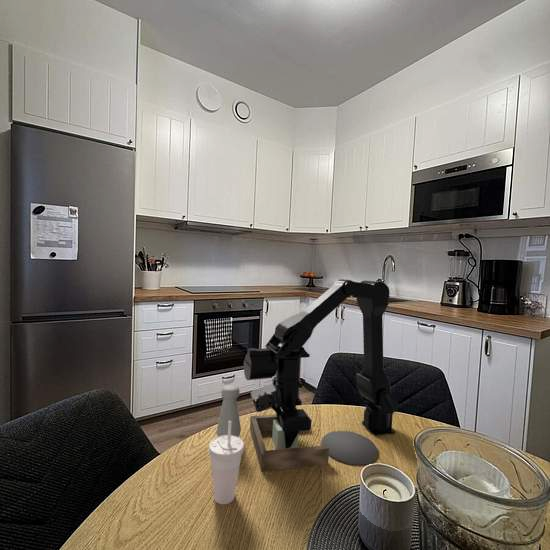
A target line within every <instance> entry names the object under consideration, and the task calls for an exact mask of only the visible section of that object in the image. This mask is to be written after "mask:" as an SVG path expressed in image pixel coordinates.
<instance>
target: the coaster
mask: <svg viewBox="0 0 550 550" xmlns="http://www.w3.org/2000/svg"><path fill="white" fill-rule="evenodd" d="M323 445H327V446H328V448H329V458H332V460H333V459H334V460H336V461H338V462H340V463H344V464H346V465H352V466H353V465H354V466H363V465H368V464H371V463H372V462H374V461H375V460H376V459H377V457H378V452H379V450H378V448H377V446H376V444H375V443H374V441H372V440H371V439H369V438H368V437H366V436H365V435H362V434H361V433H356V432H353V431H348V430H335V431H331V432H327V433H326V434H324V435H323V436H322V438H321V445H320V446H323Z"/></svg>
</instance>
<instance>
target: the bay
mask: <svg viewBox="0 0 550 550" xmlns="http://www.w3.org/2000/svg"><path fill="white" fill-rule="evenodd" d="M273 420H277V415H276V414H264V415H263V414H262V415H251V416H250V421H249V432H250V435H251V439H252V442H253V446H254V450H255V454H256V458H257V461H258V465H259V469H260V472H266V471H267V472H268V471H277V470H286V469H295V468H296V469H297V468H305V467H314V466H323V465H329V458H330V456H329V448H328V446H327V445H323V446H321V445H316V446H315V445H314V446H313V445H312V446H303V447H298V448H289V449H278V450H276V449H269V450H268V449H266V446H265V442H264V440H263V436H262V433H261V432H267V431H268V432H269V431H273Z"/></svg>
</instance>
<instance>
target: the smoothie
mask: <svg viewBox="0 0 550 550" xmlns="http://www.w3.org/2000/svg"><path fill="white" fill-rule="evenodd" d="M244 450H245V443H244V440H242V438H241V437H240V436H239V437H236V436H232V435H231V421H228V435H223V436H219V437H218V436H216V437H214V438H213V439H211V440H210V442H209V444H208V450H207V452H208V454H209V456H210V466H211V476H212V477H211V478H212V488H213V489H212V490H213V499H214V501H215V503H217V504H218V505H228V504H230V503H232V502H233V501H234V499H235V497H236V491H237V490H236V489H237V486H238V485H237V484H238V478H239V472H240V466H241V460H242V455H243V453H244Z"/></svg>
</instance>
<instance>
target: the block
mask: <svg viewBox="0 0 550 550" xmlns="http://www.w3.org/2000/svg"><path fill="white" fill-rule="evenodd" d="M299 434H300V432H299V433H298V435H297V437H296V438H295V440H294V442H293V444H292V446H291V447H290V448H299V437H300V436H299ZM271 437H272V439H271V441H272V443H273V447H274V450H278V449H289V448H286V447H285V440H284V431H283V430H282V428H281V427H280V425H279V423H278V421H277V420H273V430H272V436H271Z"/></svg>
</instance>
